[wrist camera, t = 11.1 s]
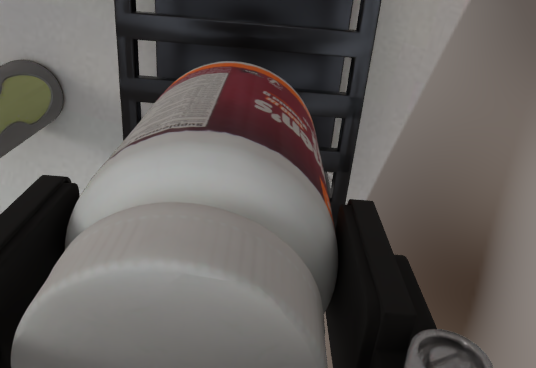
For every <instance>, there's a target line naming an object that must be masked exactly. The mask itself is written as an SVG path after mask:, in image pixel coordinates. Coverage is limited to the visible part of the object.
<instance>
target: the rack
mask: <svg viewBox="0 0 536 368" xmlns="http://www.w3.org/2000/svg"><path fill="white" fill-rule="evenodd" d="M114 4H115V22H116V36H117V50H118V65H119V83H120V98H121V110H122V125H123V141H124V140H125V139H126V138H127V136H128V135H129V134H130V133H131V132H132V130H133V129H134V128H135V127H136V126H137V124H138V123H139V122H140V121H141V104H140V102H148V103H155V102H156V101H157V99H158V98H159V97H160V96H161V95H162V94H163V93H164V92H165V91H166V90H167V89H168V88H169V87H170V86H171V85H172V84H173V83H174V82H175V81H176V80H177V79H178V78H180V77H181V76H183V75H184V74H186V73H188V72H189V71H191V70H193V69H195V68H198V67H200V66H203V65H207V64H211V63H215V62H223V61H235V62H244V63H249V64H253V65H257V66H259V67H262V68H264V69H267V70H269V71H271V72H272V73H274V74H276V75H277V76H279V77H281V78H282V79H283V80H284V81H286V82H287V83H288V84H289V85H290V86H292V88H293V89H294V90H295V91H296V92H297V94H298V95H299V96H300V97H301V99H302V100H303V102H304V104H305V105H306V107H307V109H308V111H309V113H310V116H311V118H312V122H313V125H314V129H315V133H316V137H317V142H318V147H319V152H320V156H321V161H322V166H323V171H324V174H325V181H326V186H327V191H328V196H329V201H330V206H331V211H332V216H333V221H334V227H335V230H336V224H337V219H338V213H339V208H340V205H341V204H343V205H345V202H346V197H347V191H348V186H349V180H350V174H351V169H352V163H353V158H354V152H355V146H356V141H357V135H358V129H359V124H360V119H361V113H362V107H363V102H364V96H365V90H366V84H367V79H368V73H369V68H370V62H371V56H372V51H373V45H374V40H375V34H376V28H377V23H378V17H379V11H380V6H381V0H361V3H360V9H359V16H358V22H357V28H356V30H350V29H349V25H350V19H351V12H352V5H353V0H155V13H152V12H140V11H136V0H114ZM138 40H148V41H156V57H157V77H153V76H141V75H139V61H138ZM345 57H349V58H352V60H351V66H350V72H349V78H348V85H347V91H346V92H339V91H340V84H341V78H342V71H343V65H344V58H345ZM335 118H342V122H341V129H340V135H339V141H338V147H337V148H331V143H332V137H333V130H334V124H335ZM327 172H334V173H333V179H332V185H331V187H330V183H329V179H328V174H327Z"/></svg>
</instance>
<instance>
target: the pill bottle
mask: <svg viewBox="0 0 536 368" xmlns="http://www.w3.org/2000/svg"><path fill="white" fill-rule="evenodd" d="M337 273H338V247H337V240H336V233H335V227H334V221H333V216H332V211H331V206H330V201H329V196H328V191H327V186H326V181H325V174H324V171H323V166H322V161H321V156H320V152H319V147H318V142H317V137H316V133H315V129H314V125H313V122H312V118H311V116H310V113H309V111H308V109H307V107H306V105H305V104H304V102H303V100H302V99H301V97H300V96H299V95H298V94H297V92H296V91H295V90H294V89H293V88H292V86H290V85H289V84H288V83H287V82H286V81H284V80H283V79H282V78H281V77H279V76H277V75H276V74H274V73H272V72H271V71H269V70H267V69H264V68H262V67H259V66H257V65H253V64H249V63H244V62H235V61H223V62H215V63H211V64H207V65H203V66H200V67H198V68H195V69H193V70H191V71H189V72H188V73H186V74H184V75H183V76H181V77H180V78H178V79H177V80H176V81H175V82H174V83H173V84H172V85H171V86H170V87H169V88H168V89H167V90H166V91H165V92H164V93H163V94H162V95H161V96H160V97H159V98H158V99H157V101H156V102H155V103H154V105H153V106H152V107H151V108H150V110H149V111H148V112H147V113H146V115H145V116H144V117H143V118H142V120H141V121H140V122H139V123H138V124H137V126H136V127H135V128H134V129H133V130H132V132H131V133H130V134H129V135H128V136H127V138H126V139H125V140H124V141H123V142H122V144H121V145H120V146H119V147H118V148H117V150H116V151H115V152H114V153H113V154H112V155H111V157H110V158H109V159H108V160H107V161H106V162H105V164H104V165H103V166H102V167H101V168H100V169H99V170H98V172H97V173H96V174H95V175H94V176H93V177H92V179H91V180H90V182H89V183H88V185H87V186H86V188H85V189H84V191H83V192H82V194H81V195H80V197H79V199H78V201H77V203H76V205H75V207H74V209H73V212H72V214H71V217H70V220H69V223H68V226H67V232H66V238H65V251H64V253H63V254H62V256H61V257H60V258H59V260H58V261H57V263H56V264H55V266H54V267H53V269H52V271H51V273H50V275H49V277H48V278H47V280H46V281H45V283H44V284H43V286H42V287H41V289H40V290H39V292H38V293H37V295H36V296H35V298H34V299H33V301H32V302H31V303H30V305H29V306H28V308H27V309H26V311H25V313H24V315H23V317H22V319H21V321H20V323H19V325H18V327H17V330H16V332H15V336H14V340H13V344H12V350H11V368H327V357H326V347H325V337H324V336H325V327H324V313H325V311H326V309H327V307H328V305H329V303H330V300H331V298H332V295H333V292H334V289H335V285H336V280H337Z"/></svg>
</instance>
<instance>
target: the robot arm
mask: <svg viewBox="0 0 536 368" xmlns="http://www.w3.org/2000/svg"><path fill="white" fill-rule="evenodd" d="M79 197H80V196H79V189H78V186H77V184H76V183H71V180H70V179H69V178H68V177H62V176H49V175H42V176H41V177H40V178H39V179H38V180H36V181H35V182H34V183H33V184H32V185H31V186H30V187H29V188H28V189H27V190H26V191H25V192H24V193H23V194H22V195H21V196H20V197H19V198H17V199H16V200H15V201H14V202H13V203H12V204H11V205H10V206H9V207H8V208H7V209H6V210H5V211H4V212H3V213H2V214H1V215H0V368H11V350H12V344H13V340H14V336H15V332H16V330H17V327H18V325H19V323H20V321H21V319H22V317H23V315H24V313H25V311H26V309H27V308H28V306H29V305H30V303H31V302H32V301H33V299H34V298H35V296H36V295H37V293H38V292H39V290H40V289H41V287H42V286H43V284H44V283H45V281H46V280H47V278H48V277H49V275H50V273H51V271H52V269H53V267H54V266H55V264H56V263H57V261H58V260H59V258H60V257H61V256H62V254H63V253H64V251H65V238H66V232H67V226H68V223H69V220H70V217H71V214H72V212H73V209H74V207H75V205H76V203H77V201H78V199H79ZM335 233H336V240H337V247H338V273H337V280H336V285H335V289H334V292H333V295H332V298H331V300H330V303H329V305H328V307H327V309H326V319H327V326H328V333H329V341H330V348H331V356H332V363H333V368H493V365H492V363H491V361H490V360H489V358H488V356H487V355H486V354H485V353H484V352H483V351H482V350H481V349H480V348H479V347H478V346H477V345H476V344H475V343H473V342H472V341H470V340H469V339H467V338H465V337H463V336H461V335H459V334H456V333H454V332H450V331H446V330H442V329H437V328H436V325H435V323H434V321H433V318H432V316H431V313H430V311H429V309H428V307H427V304H426V302H425V299H424V297H423V295H422V292H421V290H420V288H419V285H418V283H417V281H416V278H415V276H414V273H413V271H412V269H411V267H410V264H409V262H408V260H407V258H406V257H405V256H403V255H394V254H393V251H392V249H391V246H390V244H389V241H388V238H387V236H386V233H385V231H384V228H383V225H382V223H381V220H380V218H379V215H378V213H377V210H376V208H375V205H374V202H373V201H366V200H353V199H350V200H349V201H348V204H347V205H343V204H341V205H340V208H339V213H338V219H337V224H336V230H335Z"/></svg>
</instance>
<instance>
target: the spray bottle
mask: <svg viewBox="0 0 536 368" xmlns="http://www.w3.org/2000/svg"><path fill="white" fill-rule="evenodd" d="M62 104H63V95H62V90H61V88H60V85H59V83H58V81H57V80H56V78H55V77H54V76H53V75H52V74H51V73H50V72H49V71H48V70H47V69H45V68H44V67H43V66H41V65H39V64H37V63H34V62H31V61H26V60H16V61H11V62H8V63H6V64H4V65H2V66H0V158H1V157H2V156H4V155H5V154H7V153H8V152H9V151H11V150H12V149H14V148H15V147H17V146H18V145H19V144H21V143H22V142H24V141H25V140H26V139H28V138H29V137H31V136H32V135H33V134H35V133H36V132H38V131H39V130H41V129H42V128H43V127H45V126H46V125H48V124H49V123H50V122H52V121H53V120H54V119H55V118H56V117H57V116H58V115H59V113H60V111H61V109H62Z"/></svg>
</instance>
